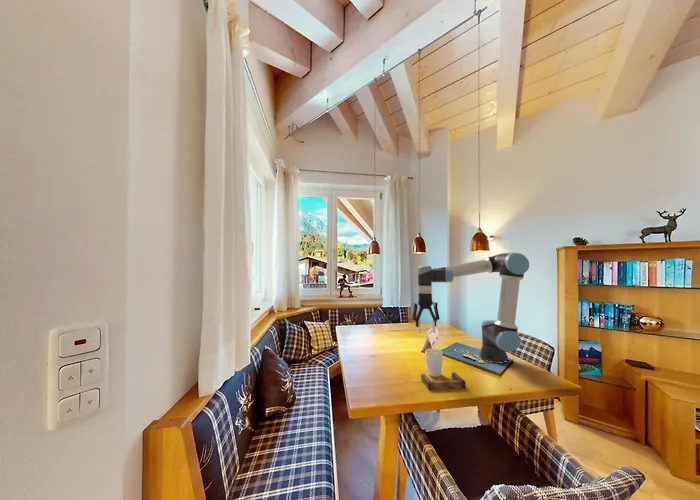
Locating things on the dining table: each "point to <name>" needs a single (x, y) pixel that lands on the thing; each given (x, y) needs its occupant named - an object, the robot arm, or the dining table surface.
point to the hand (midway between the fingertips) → (426, 332)
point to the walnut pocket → (444, 382)
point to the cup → (433, 362)
